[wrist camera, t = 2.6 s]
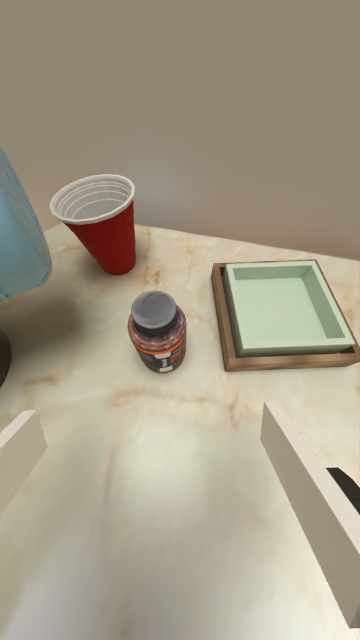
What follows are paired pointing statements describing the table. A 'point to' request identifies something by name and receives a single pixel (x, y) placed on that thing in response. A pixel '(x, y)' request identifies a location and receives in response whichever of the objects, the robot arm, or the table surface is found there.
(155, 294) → the supplement bottle
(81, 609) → the table surface
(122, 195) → the plastic cup
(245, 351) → the grey-green crate
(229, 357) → the walnut crate
